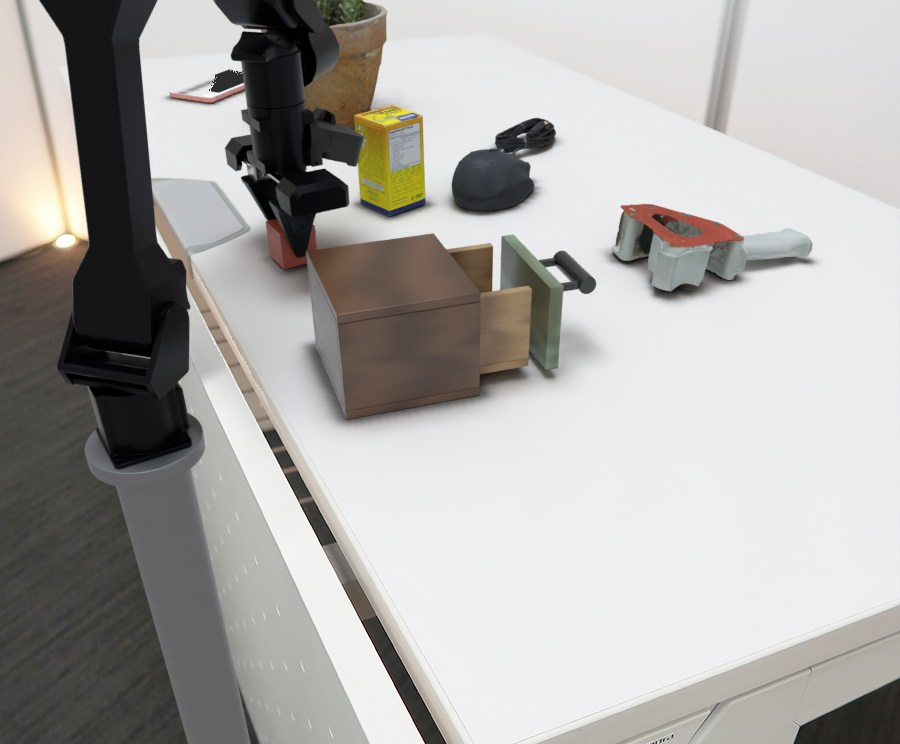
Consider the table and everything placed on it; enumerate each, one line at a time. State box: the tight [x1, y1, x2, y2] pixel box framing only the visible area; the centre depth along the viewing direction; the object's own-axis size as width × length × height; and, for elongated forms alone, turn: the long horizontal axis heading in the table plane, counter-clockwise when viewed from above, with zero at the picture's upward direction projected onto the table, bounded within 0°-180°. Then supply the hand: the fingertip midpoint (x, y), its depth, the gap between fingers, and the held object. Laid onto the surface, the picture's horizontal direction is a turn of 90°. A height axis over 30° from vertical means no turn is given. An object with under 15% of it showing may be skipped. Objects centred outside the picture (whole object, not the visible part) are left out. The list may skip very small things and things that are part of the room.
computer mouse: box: [451, 117, 557, 212], centre depth 122 cm, size 10×32×6 cm, turn 163°
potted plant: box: [260, 0, 388, 131], centre depth 134 cm, size 18×19×25 cm
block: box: [265, 219, 318, 270], centre depth 99 cm, size 4×4×4 cm
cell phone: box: [169, 68, 245, 103], centre depth 158 cm, size 9×18×1 cm, turn 154°
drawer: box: [446, 233, 597, 375], centre depth 82 cm, size 15×11×8 cm
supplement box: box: [354, 104, 426, 217], centre depth 111 cm, size 6×6×11 cm
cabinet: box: [306, 232, 481, 420], centre depth 79 cm, size 12×13×10 cm
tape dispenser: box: [611, 203, 813, 292], centre depth 97 cm, size 18×5×20 cm
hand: (293, 249), depth 100 cm, fingers closed on block, 4 cm apart
